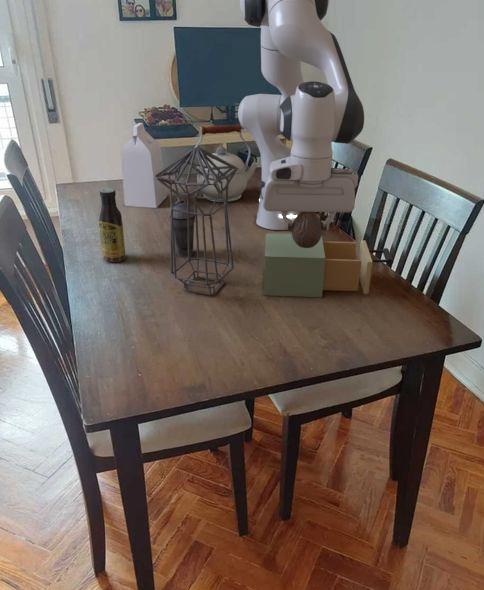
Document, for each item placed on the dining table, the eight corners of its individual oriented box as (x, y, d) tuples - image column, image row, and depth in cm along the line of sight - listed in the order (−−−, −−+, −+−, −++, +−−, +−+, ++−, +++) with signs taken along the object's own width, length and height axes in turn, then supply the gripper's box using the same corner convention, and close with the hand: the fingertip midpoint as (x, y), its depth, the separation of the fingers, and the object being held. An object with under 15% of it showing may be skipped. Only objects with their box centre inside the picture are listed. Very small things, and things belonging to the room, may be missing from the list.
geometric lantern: (218, 306, 135) (213, 160, 115) (161, 294, 139) (147, 151, 120) (242, 279, 147) (242, 143, 128) (190, 269, 151) (181, 136, 132)
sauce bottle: (99, 261, 154) (87, 191, 143) (111, 252, 159) (101, 184, 148) (119, 265, 153) (109, 194, 142) (131, 256, 158) (122, 187, 147)
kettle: (201, 207, 193) (198, 133, 179) (187, 192, 207) (182, 121, 193) (267, 199, 201) (268, 128, 188) (248, 185, 215) (248, 117, 202)
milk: (136, 195, 203) (127, 120, 188) (166, 197, 202) (160, 122, 187) (124, 205, 193) (114, 127, 178) (156, 208, 192) (149, 129, 177)
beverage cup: (193, 260, 157) (188, 190, 145) (168, 257, 158) (162, 188, 147) (200, 250, 162) (197, 182, 151) (177, 247, 164) (172, 180, 153)
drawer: (382, 271, 151) (387, 240, 146) (391, 294, 140) (396, 262, 135) (312, 269, 151) (314, 238, 146) (314, 292, 140) (317, 260, 135)
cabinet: (318, 271, 152) (321, 234, 146) (322, 297, 140) (325, 257, 134) (265, 270, 152) (266, 233, 146) (264, 295, 140) (264, 256, 134)
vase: (306, 253, 123) (308, 215, 118) (284, 244, 127) (286, 207, 122) (327, 245, 126) (330, 208, 122) (305, 236, 131) (307, 200, 126)
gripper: (357, 164, 120) (350, 225, 127) (263, 162, 119) (262, 223, 127) (361, 172, 114) (354, 235, 122) (263, 171, 114) (262, 234, 122)
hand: (306, 229), depth 124 cm, fingers closed on vase, 7 cm apart
